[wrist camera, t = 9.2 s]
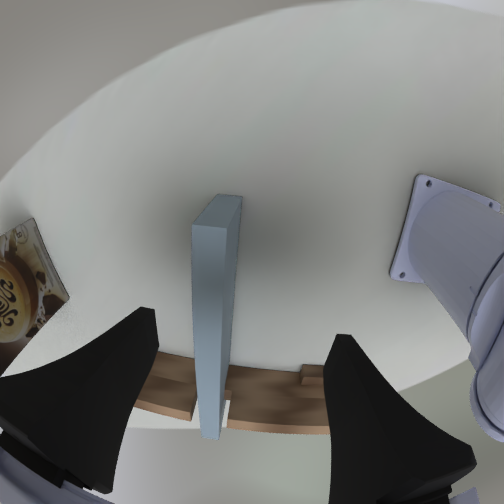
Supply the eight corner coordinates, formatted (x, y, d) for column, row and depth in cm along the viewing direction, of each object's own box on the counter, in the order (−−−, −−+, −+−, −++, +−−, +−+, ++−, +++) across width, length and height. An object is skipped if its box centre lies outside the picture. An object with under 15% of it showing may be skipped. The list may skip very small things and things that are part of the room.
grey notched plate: (217, 194, 18) (191, 224, 12) (242, 196, 18) (227, 228, 12) (212, 389, 26) (201, 437, 21) (227, 392, 26) (219, 440, 21)
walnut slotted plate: (338, 366, 23) (348, 418, 18) (326, 391, 25) (332, 439, 20) (112, 331, 24) (84, 373, 18) (119, 358, 26) (97, 399, 20)
